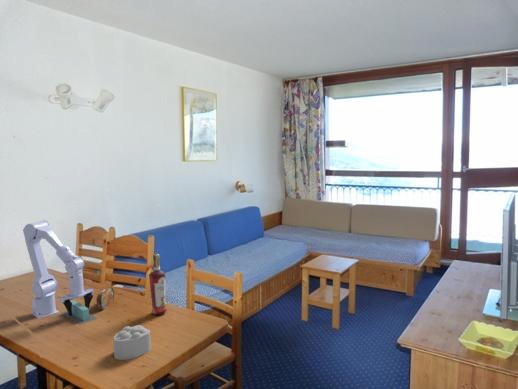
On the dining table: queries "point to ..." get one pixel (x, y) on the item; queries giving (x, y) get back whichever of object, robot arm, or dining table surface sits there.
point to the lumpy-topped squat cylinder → (131, 342)
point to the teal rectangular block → (80, 311)
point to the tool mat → (79, 318)
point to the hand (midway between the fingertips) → (78, 312)
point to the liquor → (157, 288)
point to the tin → (105, 298)
